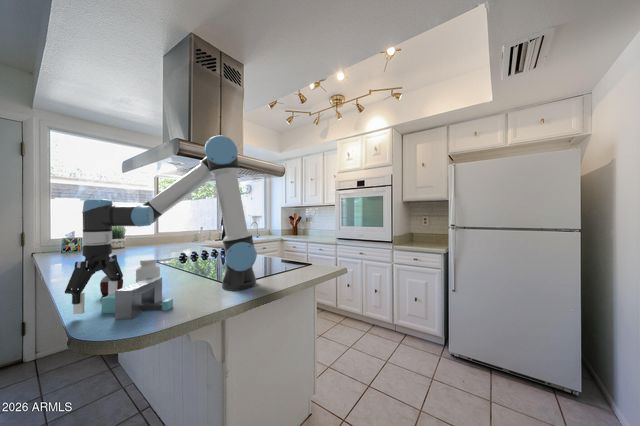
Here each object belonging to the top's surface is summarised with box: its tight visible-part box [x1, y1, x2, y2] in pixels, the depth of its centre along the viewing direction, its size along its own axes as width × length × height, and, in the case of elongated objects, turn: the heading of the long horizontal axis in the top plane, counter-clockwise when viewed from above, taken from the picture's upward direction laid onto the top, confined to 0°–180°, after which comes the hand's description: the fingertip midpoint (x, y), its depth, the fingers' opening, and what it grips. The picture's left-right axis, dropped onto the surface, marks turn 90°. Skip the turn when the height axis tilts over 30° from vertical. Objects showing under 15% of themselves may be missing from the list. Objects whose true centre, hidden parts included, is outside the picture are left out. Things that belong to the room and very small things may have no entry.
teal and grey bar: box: [100, 293, 174, 314], centre depth 84 cm, size 21×5×5 cm, turn 94°
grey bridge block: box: [114, 277, 163, 320], centre depth 84 cm, size 5×16×9 cm, turn 3°
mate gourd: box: [99, 275, 124, 299], centre depth 97 cm, size 8×8×15 cm
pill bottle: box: [135, 257, 161, 283], centre depth 97 cm, size 8×8×15 cm
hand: (97, 305), depth 83 cm, fingers open, 13 cm apart
